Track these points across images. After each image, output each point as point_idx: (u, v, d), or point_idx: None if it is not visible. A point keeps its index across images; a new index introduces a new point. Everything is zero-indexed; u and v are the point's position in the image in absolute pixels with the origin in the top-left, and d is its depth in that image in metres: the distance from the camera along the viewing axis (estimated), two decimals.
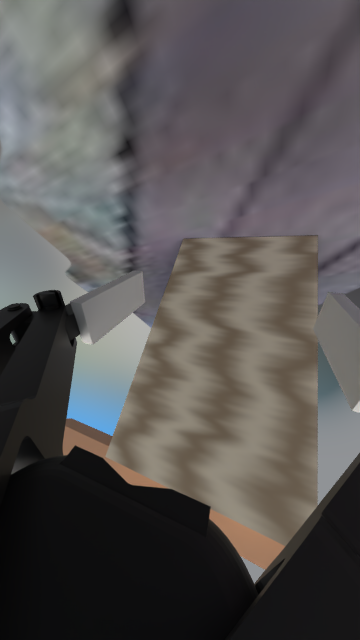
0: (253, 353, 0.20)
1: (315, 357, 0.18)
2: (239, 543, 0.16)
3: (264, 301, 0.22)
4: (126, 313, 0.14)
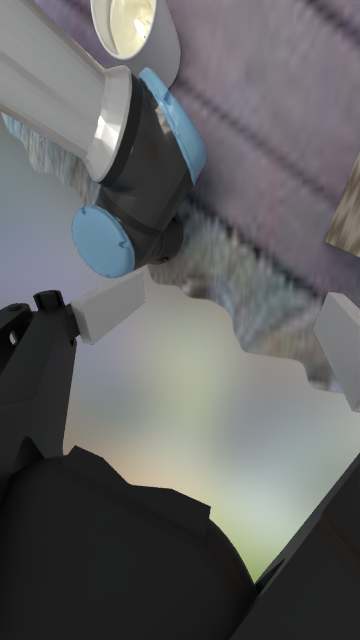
0: None
1: None
2: None
3: None
4: (126, 313, 0.14)
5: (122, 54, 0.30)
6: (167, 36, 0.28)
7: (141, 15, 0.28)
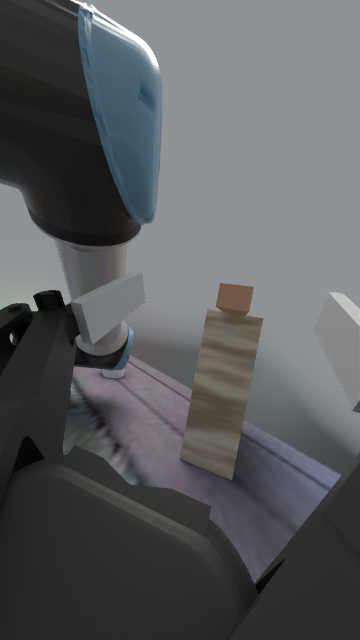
0: None
1: None
2: None
3: None
4: (126, 313, 0.14)
5: None
6: None
7: None
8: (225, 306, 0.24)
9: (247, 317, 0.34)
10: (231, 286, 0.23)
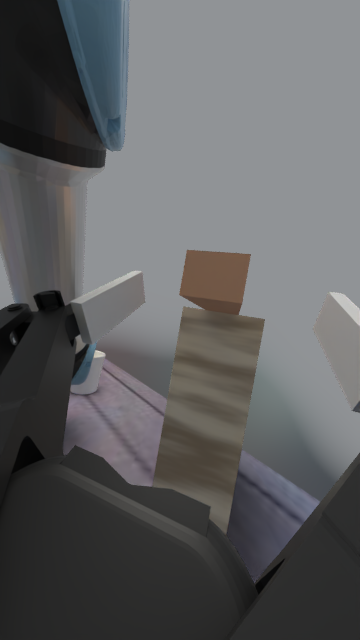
0: None
1: None
2: None
3: None
4: (126, 313, 0.14)
5: None
6: (95, 372, 0.60)
7: None
8: (196, 294, 0.12)
9: (240, 317, 0.23)
10: (207, 255, 0.12)
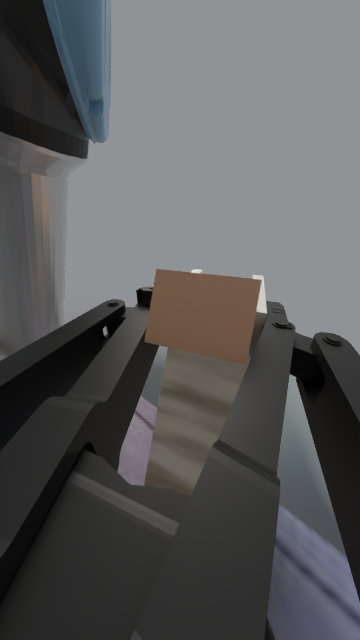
0: None
1: None
2: None
3: None
4: None
5: None
6: None
7: None
8: (171, 342, 0.07)
9: None
10: (189, 279, 0.07)
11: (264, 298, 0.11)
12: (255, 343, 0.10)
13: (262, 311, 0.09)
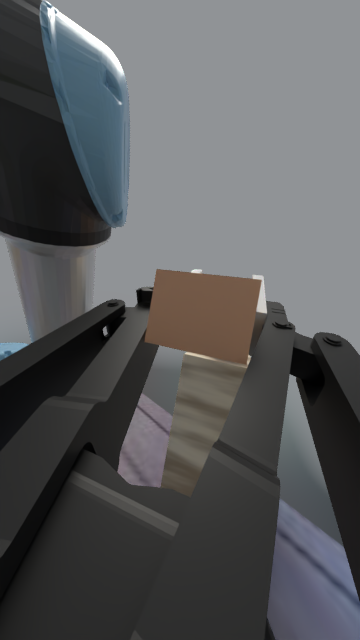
0: None
1: None
2: None
3: None
4: None
5: None
6: None
7: None
8: (171, 342, 0.07)
9: (234, 367, 0.26)
10: (189, 279, 0.07)
11: (264, 298, 0.11)
12: (255, 343, 0.10)
13: (262, 311, 0.09)
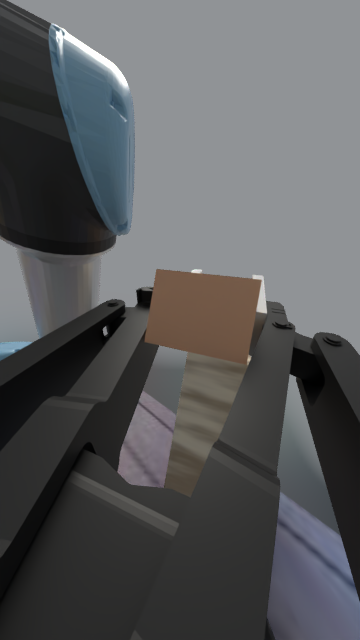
0: None
1: None
2: None
3: None
4: None
5: None
6: None
7: None
8: (171, 342, 0.07)
9: (235, 363, 0.28)
10: (189, 279, 0.07)
11: (264, 298, 0.11)
12: (255, 343, 0.10)
13: (262, 311, 0.09)
